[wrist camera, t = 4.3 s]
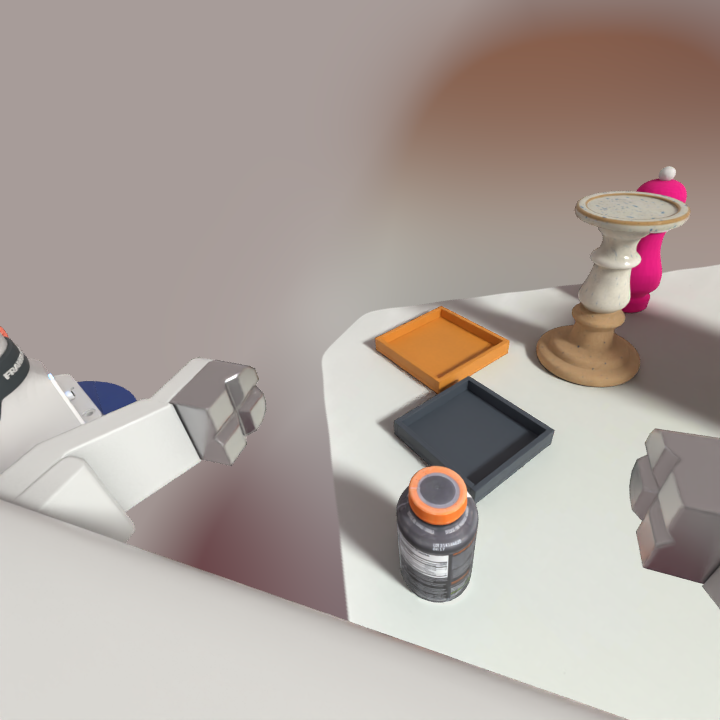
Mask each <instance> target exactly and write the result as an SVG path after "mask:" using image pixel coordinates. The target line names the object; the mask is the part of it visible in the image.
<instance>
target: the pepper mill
mask: <svg viewBox="0 0 720 720" xmlns="http://www.w3.org/2000/svg"><path fill="white" fill-rule="evenodd" d="M675 174H676V171H675V169H674V168H673V167H665V168H663V169H662V170H661V171H660V173H659V179H655V180H651V181H648V182H646V183H644V184H643V185H641V186H640V187H639V188H638V190H637V191H636V192H646V193H654V194H659V195H664V196H668V197H672V198H675V199H677V200H680V201H682V202H684V203H685V201H686V197H687V195H686V194H687V193H686V189H685V187H684V186H683V185H682V184H681V183H680V182H678V181H676V180H672V179H673V178H674V176H675ZM669 230H670V229H669ZM667 231H668V230H664V231H657V232H651V233H650V234H648V235H647V236H645V237H643V238H642V239H641V240H640V241H639V243H638V245H637V248H636V250H637V252H638V253H639V255H640V256H641V262H640V264H639V265H637V266H636V267H633V268H632V270H631V276H630V292H631V297H630V301H629V303H628V304H627V305H626V306H625V307H624V308H623V309H621V310H622V311H623V312H627V313H633V312H639V311H642V310H644V309H645V308H646V307H647V304H648V302H649V299H650V295H649V293H650V292H652V291H654V290H655V289H656V288H657V287H658V286H659V284H660V280H661V276H662V266H661V259H660V249H661V244H662V240H663V237H664V235H665V233H666V232H667Z"/></svg>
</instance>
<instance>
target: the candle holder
mask: <svg viewBox="0 0 720 720" xmlns="http://www.w3.org/2000/svg"><path fill="white" fill-rule="evenodd" d="M690 212H691V211H690V208H689V206H688V205H686V204H685V203H684V202H682V201H680V200H677V199H675V198H672V197H668V196H664V195H659V194H654V193H646V192H633V191H614V192H603V193H597V194H592V195H589V196H586V197H583V198H582V199H580V200H579V201H578V202H577V204H576V206H575V214H576V216H577V217H578V218H579V219H580V220H582V221H584V222H586V223H588V224H591V225H593V226H596V227H598V229H599V231H600V232H601V233H602V235H603V241H602V244H601V246H600V247H599V248H597V249H595V250H594V251H593V252H592V253H591V255H590V257H591V260H592V261H593V262H594V265H593V268H592V270H591V272H590V274H589V275H588V277H587V279H586V280H585V282H584V283H583V285H582V286H581V288H580V289H579V293H578V297H579V300H580V303H579V304H577V305H576V306H574V308H573V309H572V316H573V318H574V319H575V321H576V322H575V324H574V325H569V326H562V327H558V328H554V329H552V330H549V331H548V332H546V333H545V334H543V335H542V336H541V338H540V339H539V341H538V343H537V347H536V353H537V357H538V359H539V361H540V362H541V364H542V365H543V366H544V367H545V368H546V369H547V370H548V371H550V372H551V373H553V374H554V375H556V376H558V377H560V378H562V379H564V380H567V381H569V382H573V383H576V384H580V385H585V386H592V387H610V386H616V385H619V384H623V383H625V382H627V381H629V380H630V379H632V378H633V377H634V376H635V375H636V373H637V372H638V370H639V367H640V357H639V354H638V352H637V350H636V349H635V348H634V347H633V346H632V345H631V344H630V343H629V342H628V341H627V340H625V339H624V338H622V337H620V336H618V335H617V334H615V333H614V330H615V328H617V327H619V326H621V325H622V324H623V323H624V321H625V314H624V313H623V311H622V310H621V309H623V308H624V307H625V306H626V305H627V304H628V303H629V301H630V297H631V292H630V276H631V270H632V268H633V267H636V266H637V265H639V264H640V262H641V256H640V255H639V253H638V252H637V250H636V248H637V245H638V243H639V241H640V240H641V239H642V238H643V237H645V236H647V235H648V234H650V233H651V232H657V231H664V230H669V229H674V228H677V227H679V226H681V225H683V224H684V223H685V222H686V221H687V220H688V218H689V216H690Z"/></svg>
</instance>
